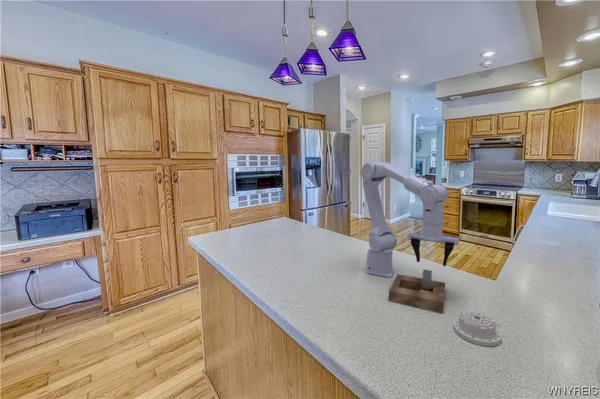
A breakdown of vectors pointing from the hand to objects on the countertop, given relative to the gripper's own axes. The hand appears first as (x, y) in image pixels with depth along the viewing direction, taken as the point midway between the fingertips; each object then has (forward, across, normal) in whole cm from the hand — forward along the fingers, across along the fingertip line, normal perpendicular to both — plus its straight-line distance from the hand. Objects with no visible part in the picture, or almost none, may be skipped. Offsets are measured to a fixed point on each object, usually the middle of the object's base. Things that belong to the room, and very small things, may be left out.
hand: (431, 263), depth 84 cm
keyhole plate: (+10, -3, -4) cm, 12 cm away
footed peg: (+10, -1, -4) cm, 11 cm away
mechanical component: (+11, +12, -17) cm, 23 cm away
